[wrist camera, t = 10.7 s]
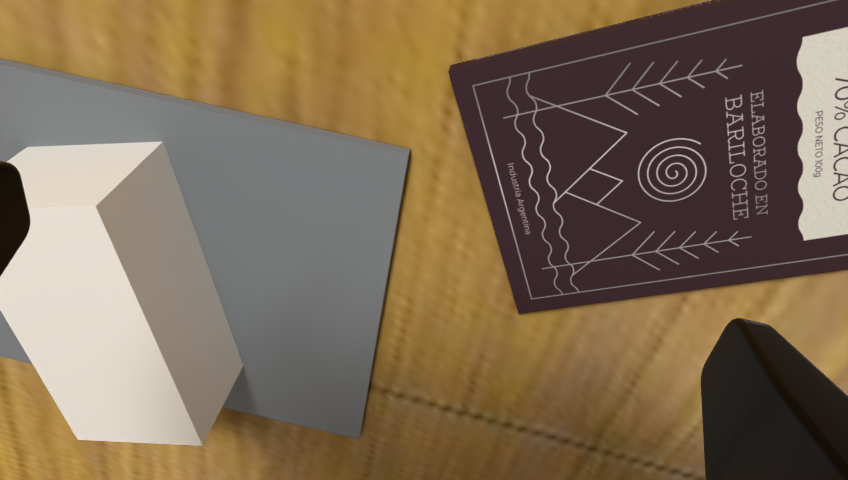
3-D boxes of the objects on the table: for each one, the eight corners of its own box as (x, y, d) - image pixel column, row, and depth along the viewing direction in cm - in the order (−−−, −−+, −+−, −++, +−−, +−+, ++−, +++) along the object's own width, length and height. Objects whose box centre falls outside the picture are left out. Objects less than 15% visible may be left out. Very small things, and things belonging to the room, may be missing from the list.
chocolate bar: (448, 71, 19) (1286, -135, 14) (452, 60, 20) (1247, -140, 14) (519, 313, 23) (1167, 226, 18) (519, 296, 24) (1142, 207, 19)
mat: (410, 149, 21) (408, 154, 21) (361, 431, 29) (358, 439, 29) (-142, 27, 21) (-152, 31, 21) (-38, 339, 29) (-44, 345, 29)
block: (243, 365, 27) (202, 445, 24) (131, 362, 28) (77, 439, 25) (162, 141, 22) (95, 206, 18) (27, 147, 22) (-61, 209, 19)
